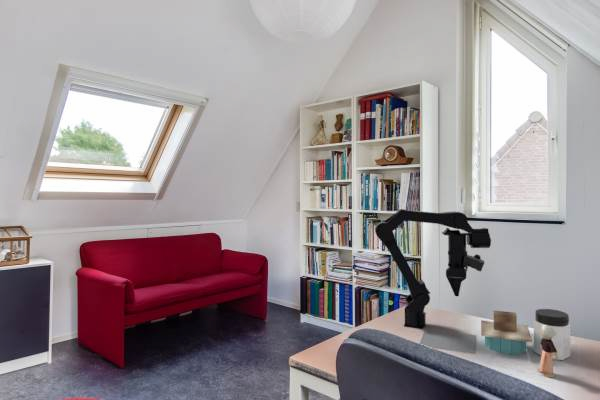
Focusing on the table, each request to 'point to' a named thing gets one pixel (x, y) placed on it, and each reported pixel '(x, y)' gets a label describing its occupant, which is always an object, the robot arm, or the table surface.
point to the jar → (560, 326)
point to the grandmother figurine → (547, 351)
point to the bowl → (505, 345)
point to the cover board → (505, 334)
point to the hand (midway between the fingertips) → (457, 292)
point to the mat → (449, 341)
